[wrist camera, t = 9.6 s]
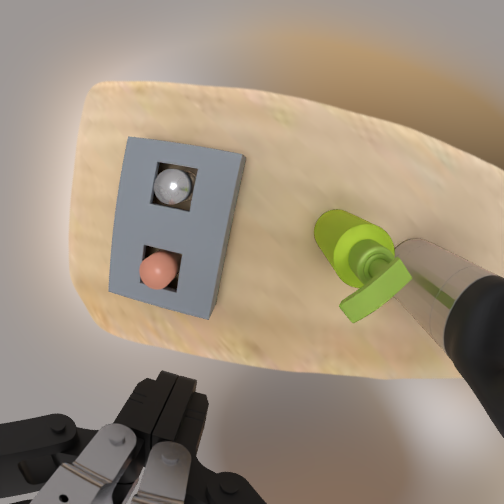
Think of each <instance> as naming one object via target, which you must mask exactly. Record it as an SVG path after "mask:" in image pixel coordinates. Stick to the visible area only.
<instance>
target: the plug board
mask: <svg viewBox="0 0 504 504" xmlns="http://www.w3.org/2000/svg"><path fill="white" fill-rule="evenodd" d="M245 160H246V157H245V156H244V155H242V154H238V153H233V152H228V151H222V150H217V149H211V148H206V147H200V146H194V145H187V144H181V143H174V142H167V141H160V140H153V139H145V138H137V137H128V140H127V145H126V150H125V155H124V160H123V166H122V171H121V177H120V183H119V190H118V197H117V204H116V211H115V219H114V228H113V237H112V248H111V260H110V274H109V292H112V293H115V294H118V295H121V296H125V297H128V298H131V299H134V300H138V301H141V302H145V303H148V304H151V305H155V306H158V307H162V308H166V309H169V310H173V311H177V312H180V313H184V314H188V315H192V316H195V317H199V318H203V319H207V320H209V318H210V316H211V314H212V311H213V309H214V307H215V305H216V301H217V295H218V290H219V285H220V280H221V275H222V270H223V265H224V260H225V255H226V250H227V245H228V240H229V235H230V230H231V226H232V221H233V216H234V211H235V207H236V202H237V197H238V192H239V188H240V183H241V179H242V174H243V170H244V165H245ZM160 162H162V163H168V164H174V165H180V166H186V167H192V168H197V169H198V171H197V176H196V181H195V186H194V191H193V196H192V201H191V207H190V211H187V210H182V209H178V208H173V207H168V206H163V205H158V204H153V203H152V202H153V196H154V183H155V180H156V178H157V173H158V168H159V163H160ZM146 245H147V246H151V247H155V248H160V249H164V250H168V251H172V252H176V253H180V254H182V259H181V266H180V272H179V279H178V286H177V289H175V288H171V287H167V286H166V287H164V288H163V289H158V290H156V289H152V288H149V287H148V286H146V285H145V284H144V283H143V281H142V279H141V277H140V273H139V269H140V265H141V263H142V261H143V260H144V259H145V250H146Z"/></svg>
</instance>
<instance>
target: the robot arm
mask: <svg viewBox="0 0 504 504" xmlns="http://www.w3.org/2000/svg"><path fill="white" fill-rule="evenodd" d="M396 257H399V258H400V259H401V261H402V262H403V264H404V265H405V267H406V268H407V270H408V272H409V273H410V275H411V276H412V279H411V280H410V281H409V282H408V283H407V284H406V285H405V286H404V287H403V288H402V289H401V290H400V291H399V292H398V293H396V294H395V295H394V297H395V298H396V299H397V300H398V301H399V302H400V303H401V304H402V306H403V307H404V308H405V309H406V310H407V311H408V312H409V313H410V314H411V315H412V316H413V317H414V318H415V319H416V321H417V322H418V323H419V324H420V325H421V326H422V327H423V328H424V329H425V330H426V332H427V333H428V334H429V335H430V336H431V337H432V338H433V339H434V340H435V342H436V343H437V344H438V345H439V346H440V347H441V348H442V349H443V350H444V352H445V353H446V354H447V355H448V356H449V358H450V359H451V360H452V361H453V363H454V365H455V367H456V369H457V370H458V372H459V373H460V374H461V375H462V377H463V378H464V379H465V380H466V382H467V383H468V385H469V386H470V387H471V389H472V390H473V392H474V393H475V395H476V396H477V398H478V399H479V401H480V403H481V404H482V406H483V407H484V409H485V411H486V412H487V414H488V415H489V417H490V419H491V420H492V422H493V423H494V425H495V426H496V428H497V429H498V431H499V432H500V434H501V435H502V436H503V438H504V278H502V277H500V276H498V275H496V274H494V273H492V272H490V271H488V270H486V269H484V268H482V267H480V266H478V265H476V264H474V263H472V262H470V261H468V260H466V259H464V258H462V257H460V256H458V255H456V254H454V253H452V252H450V251H448V250H445V249H443V248H441V247H439V246H437V245H435V244H433V243H431V242H428V241H426V240H423V239H416V238H415V239H410V240H407V241H405V242H403V243H401V244H400V245H399V246H397V248H396V249H395V258H396ZM196 385H197V380H195V379H191V378H187V377H184V376H179V375H176V374H173V373H169V372H166V371H161V372H160V374H159V376H158V377H157V379H156V381H155V380H152V379H149V378H146V379H144V380H143V381H141V382H139V383H138V384H137V386H136V387H135V389H134V391H133V393H132V394H131V395H130V397H129V399H128V400H127V402H126V403H125V405H124V406H123V408H122V410H121V411H120V413H119V414H118V416H117V418H116V419H115V421H114V423H113V424H108V425H105V426H103V427H102V428H101V429H100V430H89V429H83V428H77V427H76V425H75V423H74V421H73V420H72V419H71V418H70V417H68V416H66V415H63V414H50V415H46V416H41V417H36V418H32V419H26V420H21V421H16V422H10V423H4V424H0V498H5V497H11V496H16V495H21V494H27V493H31V492H36V491H39V492H38V494H37V495H36V496H35V497H34V499H32V500H24V501H20V502H16V503H12V504H126V503H127V501H128V500H129V498H130V496H131V494H132V492H133V491H134V489H135V487H136V485H137V483H138V481H139V475H140V473H141V470H142V468H143V467H145V470H144V473H143V476H142V480H141V483H140V487H139V489H138V492H137V494H135V495H134V496H133V498H132V501H131V504H266V503H265V501H264V500H263V499H262V498H261V497H260V496H259V494H258V493H257V492H256V491H255V490H254V489H253V487H252V486H251V485H250V484H249V482H248V481H247V480H246V479H245V478H243V477H242V476H240V475H238V474H236V473H232V472H221V473H215V472H213V471H211V470H209V469H207V468H206V467H204V466H203V465H202V464H201V463H200V462H199V461H198V459H197V457H196V454H197V451H198V447H199V443H200V440H201V436H202V433H203V430H204V425H205V420H206V415H207V410H208V405H209V403H208V400H207V396H206V395H205V394H201V393H197V392H195V391H196Z"/></svg>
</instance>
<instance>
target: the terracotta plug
mask: <svg viewBox="0 0 504 504" xmlns="http://www.w3.org/2000/svg"><path fill="white" fill-rule="evenodd" d="M181 259H182V257H181V255H180V253H176V252H172V251H168V250H164V249H160V250H158V251H157V252H155V253H153V254H152V255H150V256H149V257H147V258H146V259H144V260H143V261H142V263H141V265H140V269H139V273H140V277H141V279H142V281H143V283H144V284H145V285H146V286H148V287H149V288H152V289H156V290H158V289H163V288H164V287H166V286H167V285H168V284H169V283H170V282H171V281H172V280H173V279H174V278H175V277H176V276H177V275H178V274H179V272H180V266H181Z"/></svg>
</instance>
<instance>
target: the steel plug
mask: <svg viewBox="0 0 504 504" xmlns="http://www.w3.org/2000/svg"><path fill="white" fill-rule="evenodd" d="M195 181H196V176H195V175H194V174H193V173H192V172H190V171H187V170H179V169H167V170H164V171H162V172H161V173H160V174H159V175H158V176H157V178H156V180H155V183H154V191H155V194H156V196H157V198H158V199H159V200H160V201H161V202H163V203H165V204H176V203H180V202H184V201H188V200H190V199H192V196H193V191H194V186H195Z"/></svg>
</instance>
